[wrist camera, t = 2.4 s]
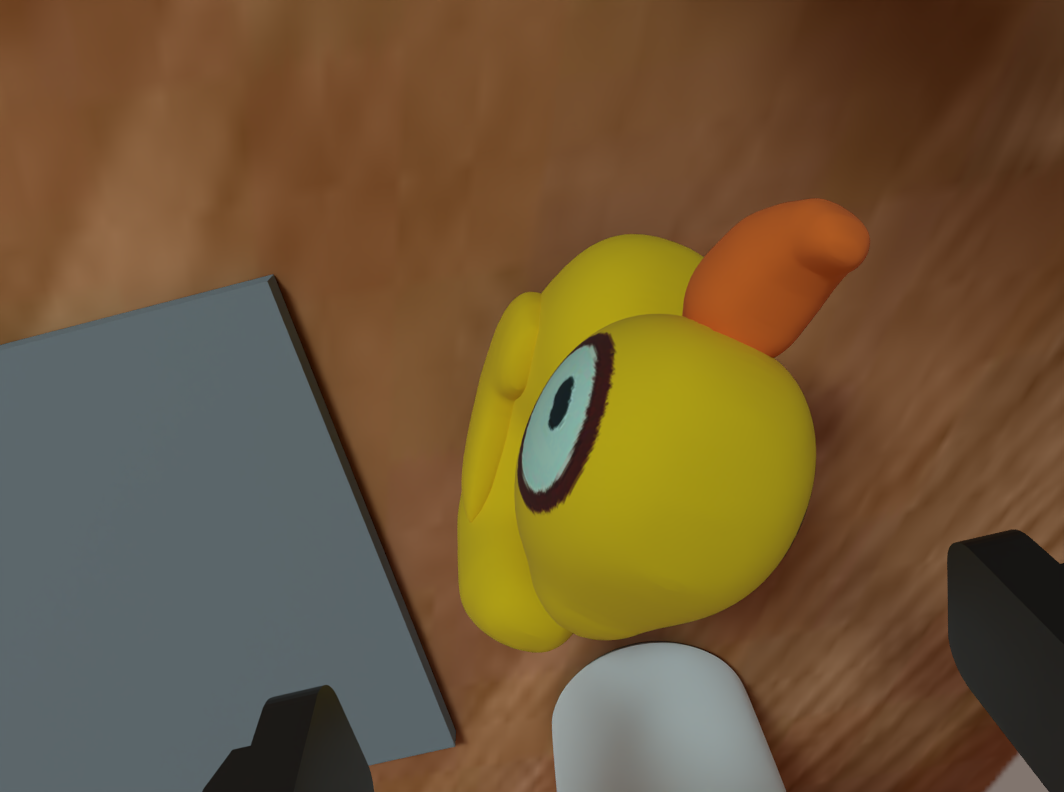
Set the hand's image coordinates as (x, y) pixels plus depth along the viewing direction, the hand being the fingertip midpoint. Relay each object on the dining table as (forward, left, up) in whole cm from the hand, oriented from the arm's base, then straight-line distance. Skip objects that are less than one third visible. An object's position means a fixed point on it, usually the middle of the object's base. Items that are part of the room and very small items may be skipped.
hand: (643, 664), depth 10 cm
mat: (+16, +4, -11) cm, 20 cm away
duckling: (0, 0, -12) cm, 12 cm away
